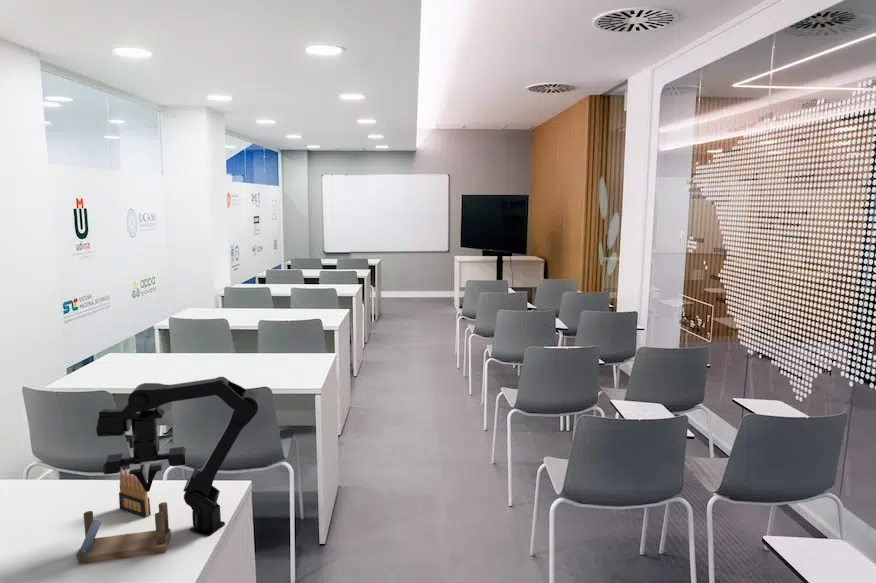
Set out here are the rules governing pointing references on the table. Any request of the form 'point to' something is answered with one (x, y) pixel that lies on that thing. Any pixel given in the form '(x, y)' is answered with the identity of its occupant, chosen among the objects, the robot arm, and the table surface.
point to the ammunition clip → (133, 495)
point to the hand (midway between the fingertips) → (147, 491)
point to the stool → (128, 541)
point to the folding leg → (90, 536)
